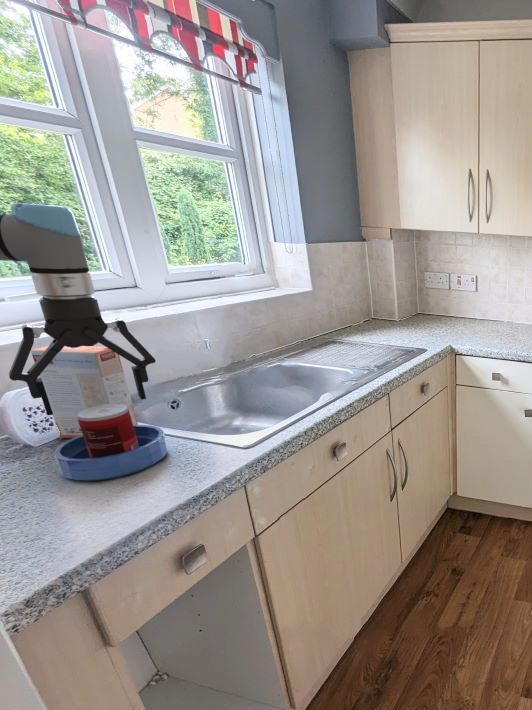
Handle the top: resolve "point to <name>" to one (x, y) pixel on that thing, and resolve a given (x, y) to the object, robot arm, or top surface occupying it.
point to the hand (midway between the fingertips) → (98, 405)
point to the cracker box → (83, 384)
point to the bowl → (82, 467)
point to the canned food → (107, 430)
